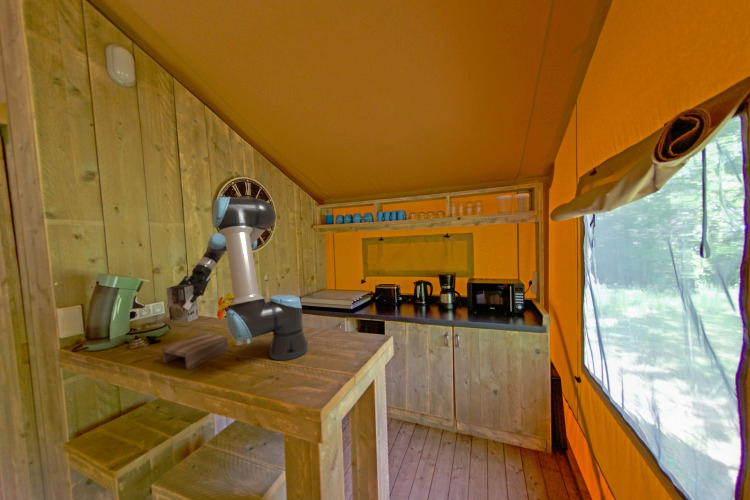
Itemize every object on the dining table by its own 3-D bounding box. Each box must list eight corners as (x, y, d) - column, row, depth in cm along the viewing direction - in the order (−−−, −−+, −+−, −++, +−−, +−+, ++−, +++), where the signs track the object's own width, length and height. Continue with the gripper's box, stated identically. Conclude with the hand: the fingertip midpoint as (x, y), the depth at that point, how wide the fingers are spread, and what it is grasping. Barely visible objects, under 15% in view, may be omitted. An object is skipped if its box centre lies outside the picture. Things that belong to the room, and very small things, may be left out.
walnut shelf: (228, 350, 110) (227, 337, 110) (188, 369, 96) (187, 354, 95) (204, 345, 117) (203, 332, 117) (163, 362, 102) (161, 347, 102)
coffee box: (199, 317, 123) (195, 284, 122) (188, 322, 116) (184, 286, 115) (181, 318, 124) (177, 284, 123) (169, 322, 117) (165, 287, 116)
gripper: (227, 272, 131) (202, 312, 117) (191, 273, 136) (164, 311, 122) (217, 263, 126) (190, 304, 111) (181, 264, 131) (150, 303, 117)
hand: (176, 308), depth 117 cm, fingers closed on coffee box, 10 cm apart
